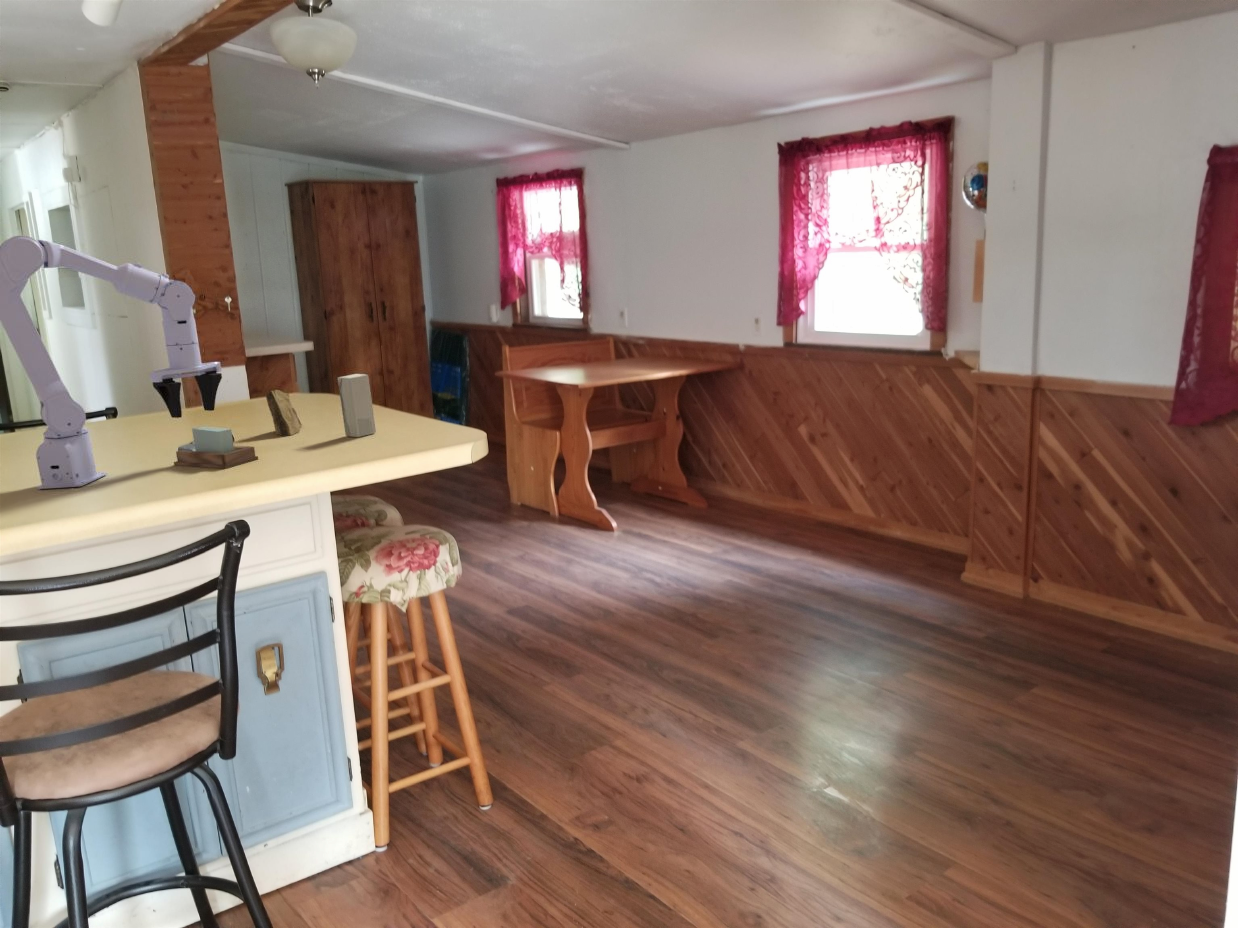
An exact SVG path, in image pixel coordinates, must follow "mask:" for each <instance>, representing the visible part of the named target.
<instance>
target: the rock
mask: <svg viewBox="0 0 1238 928" xmlns="http://www.w3.org/2000/svg"><path fill="white" fill-rule="evenodd" d="M265 399H266V402H267V406H268V408H269V411H270V415H271V417H272V422H273V427H274V430H275V433H276V435H278V436H285V437H286V436H287V437H289V436H290V437H291V436H294V435H296V434H297V433H299V432H300V431H301V427H302V426H303V424H302V422H301V420H300V418H299V416H298V413H297V411H296V409H295V408H294V407H293V405H292V403H291V401H290V394H289V393H287V392H286V393H285V392H284V391H281V390H279V389H274V390H269V391H268V392H266V394H265Z"/></svg>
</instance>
